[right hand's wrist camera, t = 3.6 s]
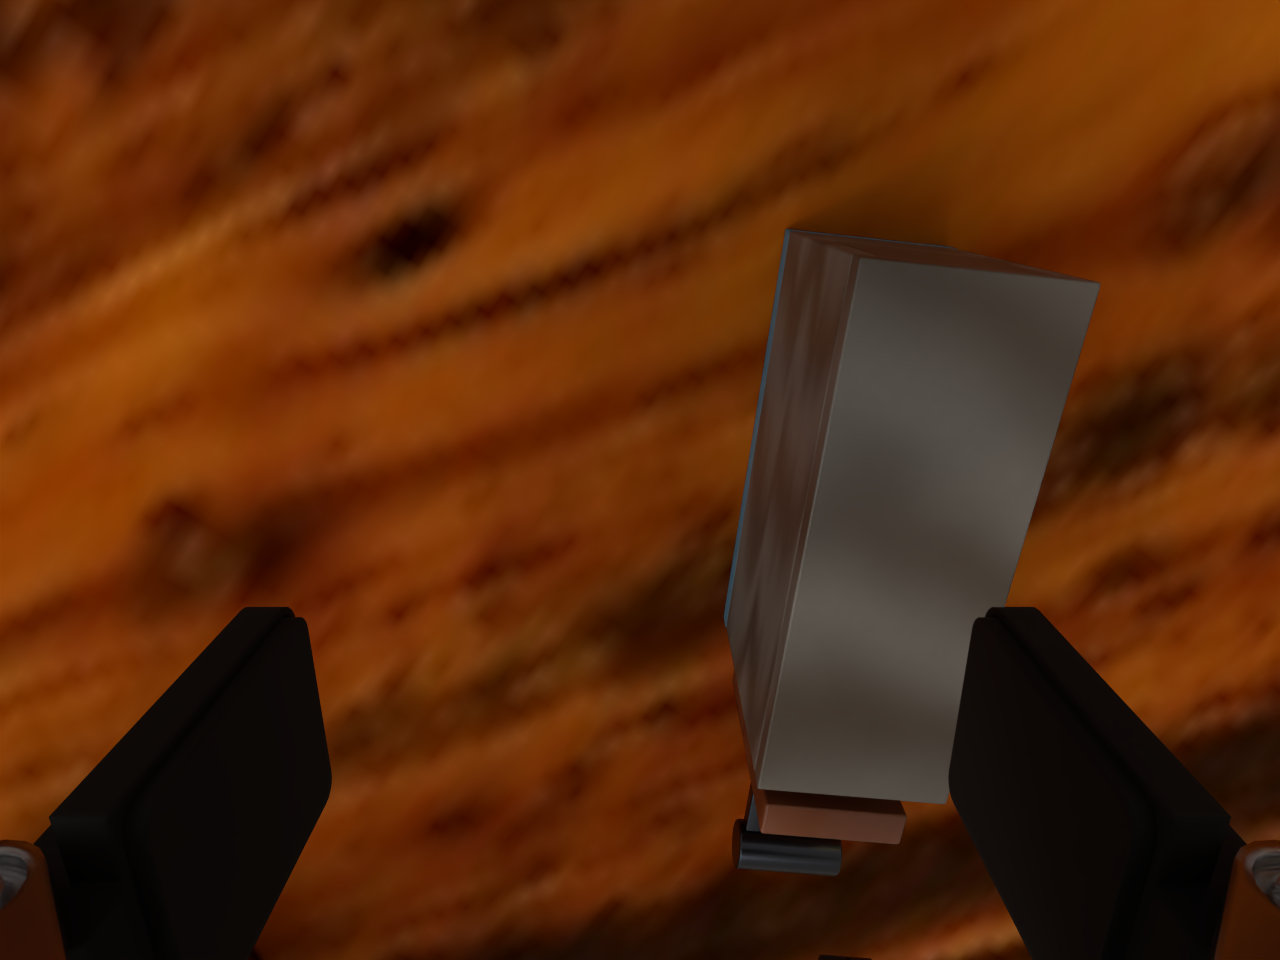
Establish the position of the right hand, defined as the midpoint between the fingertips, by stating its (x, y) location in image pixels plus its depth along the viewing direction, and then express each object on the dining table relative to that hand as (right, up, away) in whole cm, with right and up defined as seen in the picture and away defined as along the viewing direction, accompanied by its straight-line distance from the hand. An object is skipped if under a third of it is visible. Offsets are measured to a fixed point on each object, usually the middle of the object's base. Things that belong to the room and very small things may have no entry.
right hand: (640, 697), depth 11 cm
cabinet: (+7, +4, +20) cm, 21 cm away
